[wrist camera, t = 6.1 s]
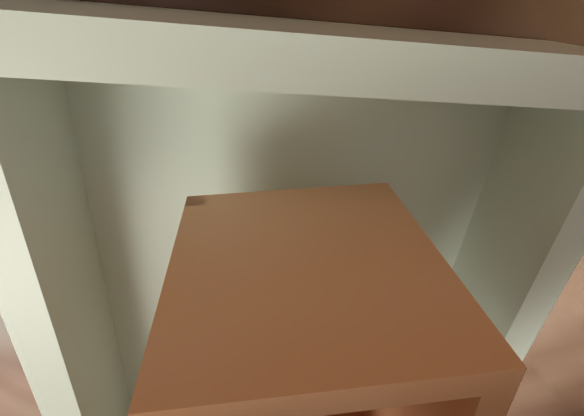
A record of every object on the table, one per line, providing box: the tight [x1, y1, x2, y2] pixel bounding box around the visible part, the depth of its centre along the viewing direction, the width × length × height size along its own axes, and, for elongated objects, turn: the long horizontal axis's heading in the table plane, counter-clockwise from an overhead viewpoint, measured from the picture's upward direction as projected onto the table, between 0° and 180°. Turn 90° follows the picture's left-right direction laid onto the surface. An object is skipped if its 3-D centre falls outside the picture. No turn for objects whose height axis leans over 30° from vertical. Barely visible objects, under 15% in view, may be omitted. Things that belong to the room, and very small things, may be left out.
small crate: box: [127, 183, 527, 416], centre depth 9 cm, size 5×8×6 cm, turn 1°
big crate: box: [0, 0, 584, 416], centre depth 12 cm, size 14×16×4 cm
